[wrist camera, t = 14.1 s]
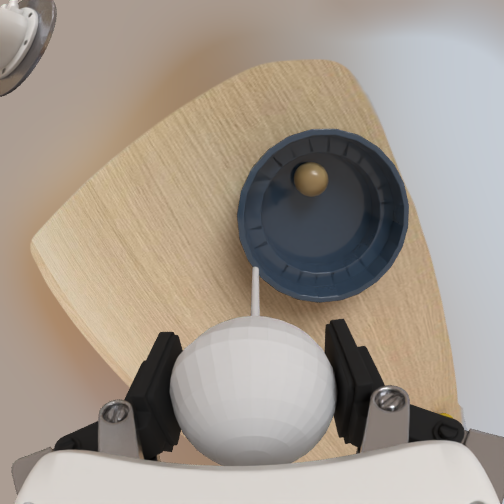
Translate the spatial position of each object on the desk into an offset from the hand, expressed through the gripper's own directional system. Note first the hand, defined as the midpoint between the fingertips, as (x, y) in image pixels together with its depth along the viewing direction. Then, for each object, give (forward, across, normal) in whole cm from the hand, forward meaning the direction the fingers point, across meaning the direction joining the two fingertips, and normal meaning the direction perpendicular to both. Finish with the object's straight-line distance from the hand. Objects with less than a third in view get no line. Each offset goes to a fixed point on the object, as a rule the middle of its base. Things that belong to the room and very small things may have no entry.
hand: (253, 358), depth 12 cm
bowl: (+23, -7, -1) cm, 24 cm away
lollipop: (+10, 0, 0) cm, 10 cm away
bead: (+21, -6, -5) cm, 22 cm away
